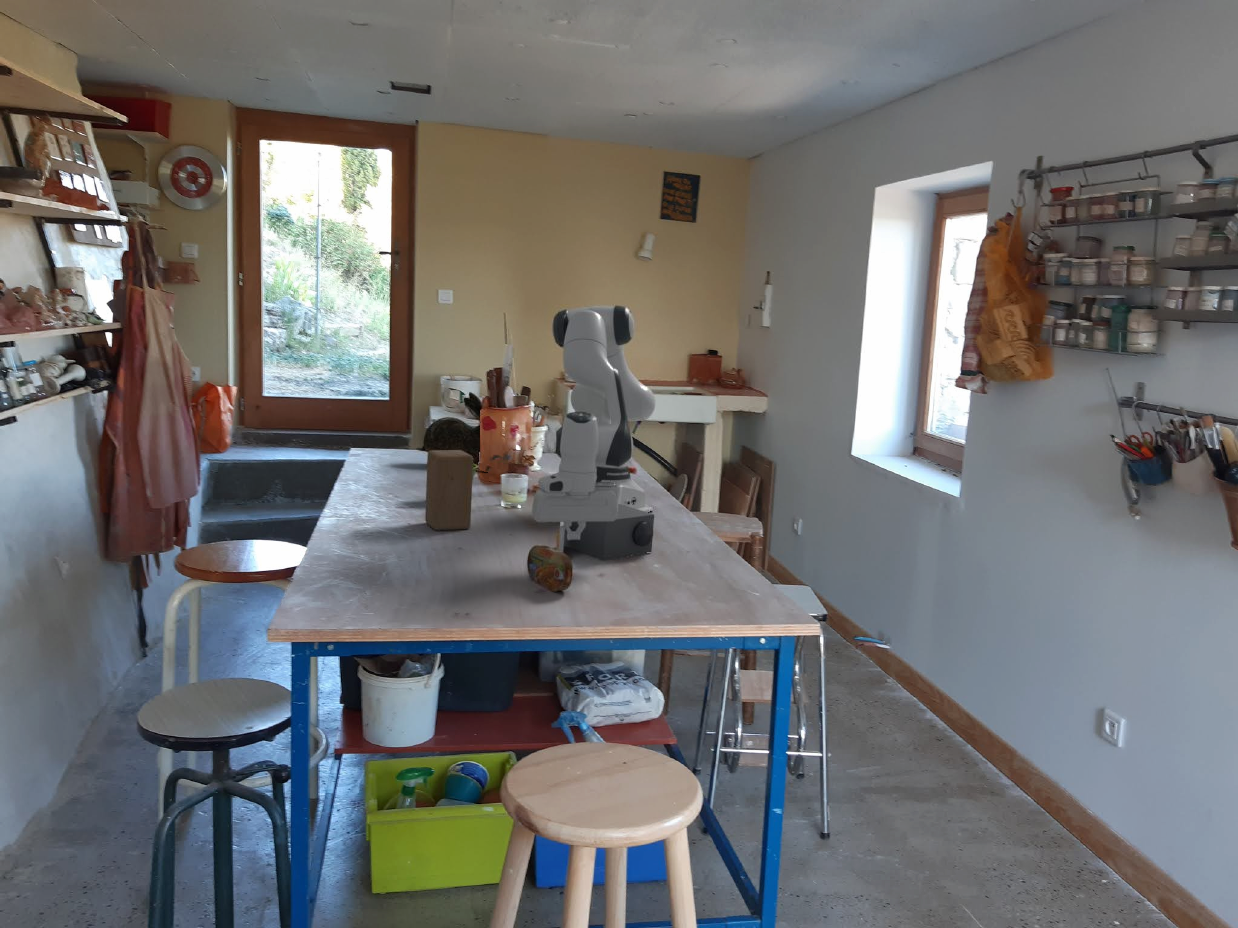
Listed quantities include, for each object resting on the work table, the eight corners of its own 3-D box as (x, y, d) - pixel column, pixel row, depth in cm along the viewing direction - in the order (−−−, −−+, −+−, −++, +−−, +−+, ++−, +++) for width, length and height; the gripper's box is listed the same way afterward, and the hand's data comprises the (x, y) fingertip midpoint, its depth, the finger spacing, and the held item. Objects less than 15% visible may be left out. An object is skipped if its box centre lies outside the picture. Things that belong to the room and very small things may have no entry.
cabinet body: (610, 538, 253) (613, 501, 251) (654, 553, 240) (657, 515, 239) (563, 545, 242) (565, 507, 241) (606, 561, 230) (609, 521, 228)
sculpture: (473, 477, 323) (477, 397, 319) (412, 465, 339) (415, 388, 334) (509, 471, 339) (513, 395, 335) (449, 459, 355) (452, 386, 350)
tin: (525, 577, 213) (527, 541, 211) (537, 576, 214) (539, 539, 213) (561, 596, 201) (563, 558, 199) (573, 594, 203) (576, 556, 201)
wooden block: (434, 531, 247) (437, 456, 244) (424, 522, 256) (426, 449, 253) (471, 529, 252) (474, 455, 249) (459, 521, 261) (462, 449, 257)
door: (563, 544, 241) (566, 510, 239) (561, 564, 223) (564, 527, 221) (557, 544, 241) (559, 509, 239) (555, 564, 223) (557, 527, 221)
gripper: (614, 479, 228) (611, 535, 230) (531, 479, 221) (528, 536, 223) (623, 484, 222) (619, 542, 224) (538, 484, 215) (535, 543, 217)
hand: (573, 539), depth 224 cm, fingers closed
